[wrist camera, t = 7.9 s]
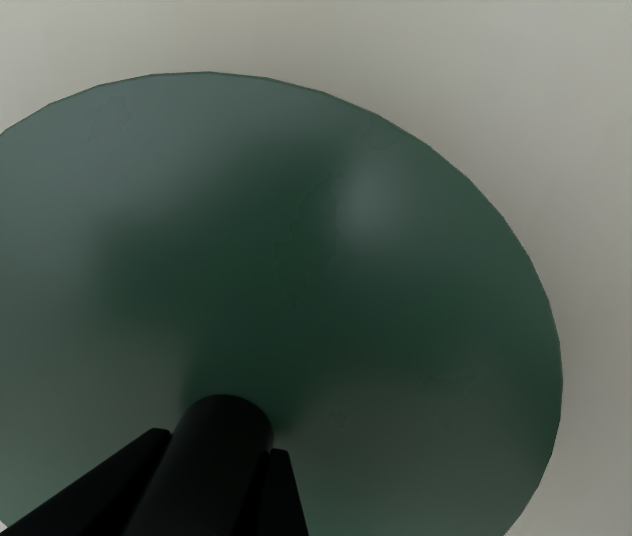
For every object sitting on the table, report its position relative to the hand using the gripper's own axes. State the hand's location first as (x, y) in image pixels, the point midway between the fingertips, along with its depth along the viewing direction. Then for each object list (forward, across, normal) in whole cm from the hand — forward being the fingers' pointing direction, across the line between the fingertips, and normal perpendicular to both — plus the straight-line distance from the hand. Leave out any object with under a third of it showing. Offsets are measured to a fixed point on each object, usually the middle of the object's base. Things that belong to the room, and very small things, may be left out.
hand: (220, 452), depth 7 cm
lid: (+1, 0, 0) cm, 1 cm away
